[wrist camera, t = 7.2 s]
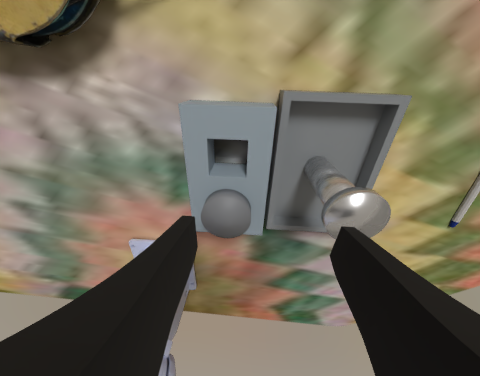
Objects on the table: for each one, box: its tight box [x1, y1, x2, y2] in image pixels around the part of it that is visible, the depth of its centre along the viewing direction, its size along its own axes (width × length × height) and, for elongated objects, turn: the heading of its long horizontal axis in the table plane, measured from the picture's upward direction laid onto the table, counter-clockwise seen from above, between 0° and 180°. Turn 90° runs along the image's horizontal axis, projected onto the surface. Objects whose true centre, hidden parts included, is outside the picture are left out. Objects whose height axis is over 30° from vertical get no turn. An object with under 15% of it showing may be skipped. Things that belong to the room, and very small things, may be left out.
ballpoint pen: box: [449, 174, 480, 227], centre depth 18 cm, size 10×1×1 cm, turn 5°
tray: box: [265, 90, 412, 232], centre depth 18 cm, size 13×9×2 cm
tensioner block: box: [179, 100, 277, 238], centre depth 17 cm, size 12×7×4 cm, turn 178°
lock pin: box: [304, 156, 391, 239], centre depth 15 cm, size 4×4×8 cm
